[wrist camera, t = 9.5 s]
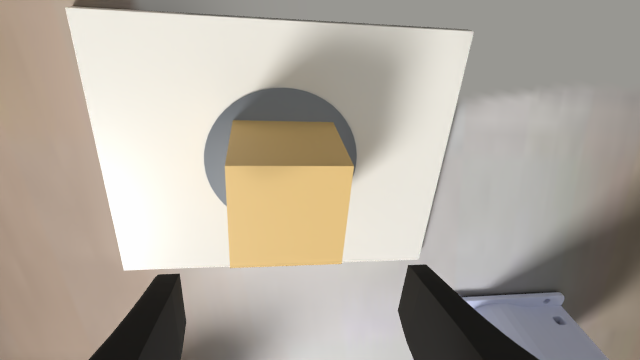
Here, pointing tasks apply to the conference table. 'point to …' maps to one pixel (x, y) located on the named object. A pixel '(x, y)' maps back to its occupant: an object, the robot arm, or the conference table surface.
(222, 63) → the mat
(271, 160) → the cube
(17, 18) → the conference table surface
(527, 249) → the conference table surface
